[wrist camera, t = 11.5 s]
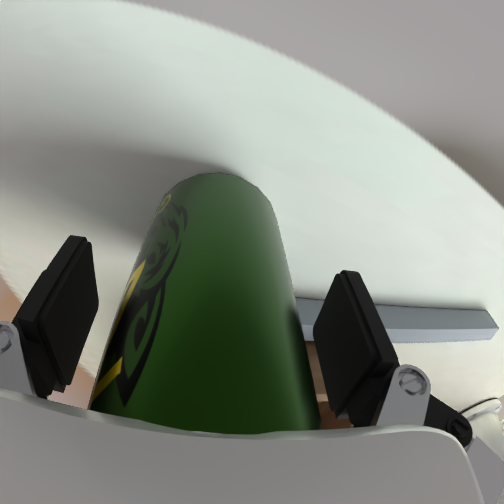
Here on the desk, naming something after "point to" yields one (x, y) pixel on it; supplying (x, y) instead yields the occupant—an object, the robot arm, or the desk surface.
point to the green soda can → (210, 320)
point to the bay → (415, 323)
